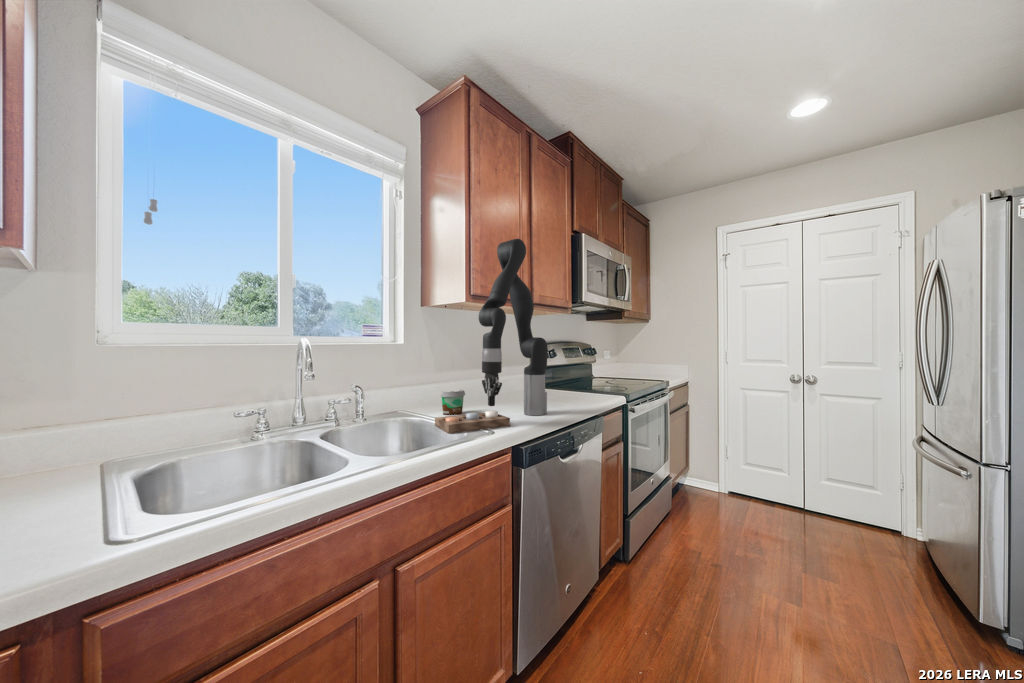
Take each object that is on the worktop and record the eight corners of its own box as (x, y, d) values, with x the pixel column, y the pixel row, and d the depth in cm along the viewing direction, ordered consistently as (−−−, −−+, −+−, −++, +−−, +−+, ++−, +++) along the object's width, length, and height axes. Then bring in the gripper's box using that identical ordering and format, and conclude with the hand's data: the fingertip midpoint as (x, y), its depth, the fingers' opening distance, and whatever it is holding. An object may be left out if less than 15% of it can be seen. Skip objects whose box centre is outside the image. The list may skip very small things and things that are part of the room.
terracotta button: (455, 424, 141) (455, 416, 141) (460, 426, 137) (460, 418, 137) (443, 425, 138) (443, 417, 138) (448, 428, 134) (448, 419, 134)
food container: (450, 417, 158) (450, 392, 158) (440, 415, 162) (440, 391, 162) (471, 412, 168) (471, 390, 168) (461, 411, 172) (461, 388, 172)
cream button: (494, 418, 149) (494, 410, 149) (500, 420, 145) (500, 412, 145) (483, 419, 146) (483, 411, 146) (488, 421, 142) (488, 413, 142)
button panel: (492, 419, 154) (492, 411, 154) (509, 426, 142) (509, 418, 142) (434, 425, 142) (435, 417, 142) (448, 433, 129) (448, 424, 129)
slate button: (475, 420, 145) (475, 412, 145) (481, 422, 141) (481, 414, 141) (463, 421, 142) (463, 413, 142) (469, 423, 138) (469, 415, 138)
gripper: (508, 361, 142) (508, 407, 142) (492, 359, 153) (492, 402, 153) (490, 361, 138) (490, 409, 138) (475, 359, 149) (475, 404, 149)
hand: (491, 405), depth 146 cm, fingers closed
